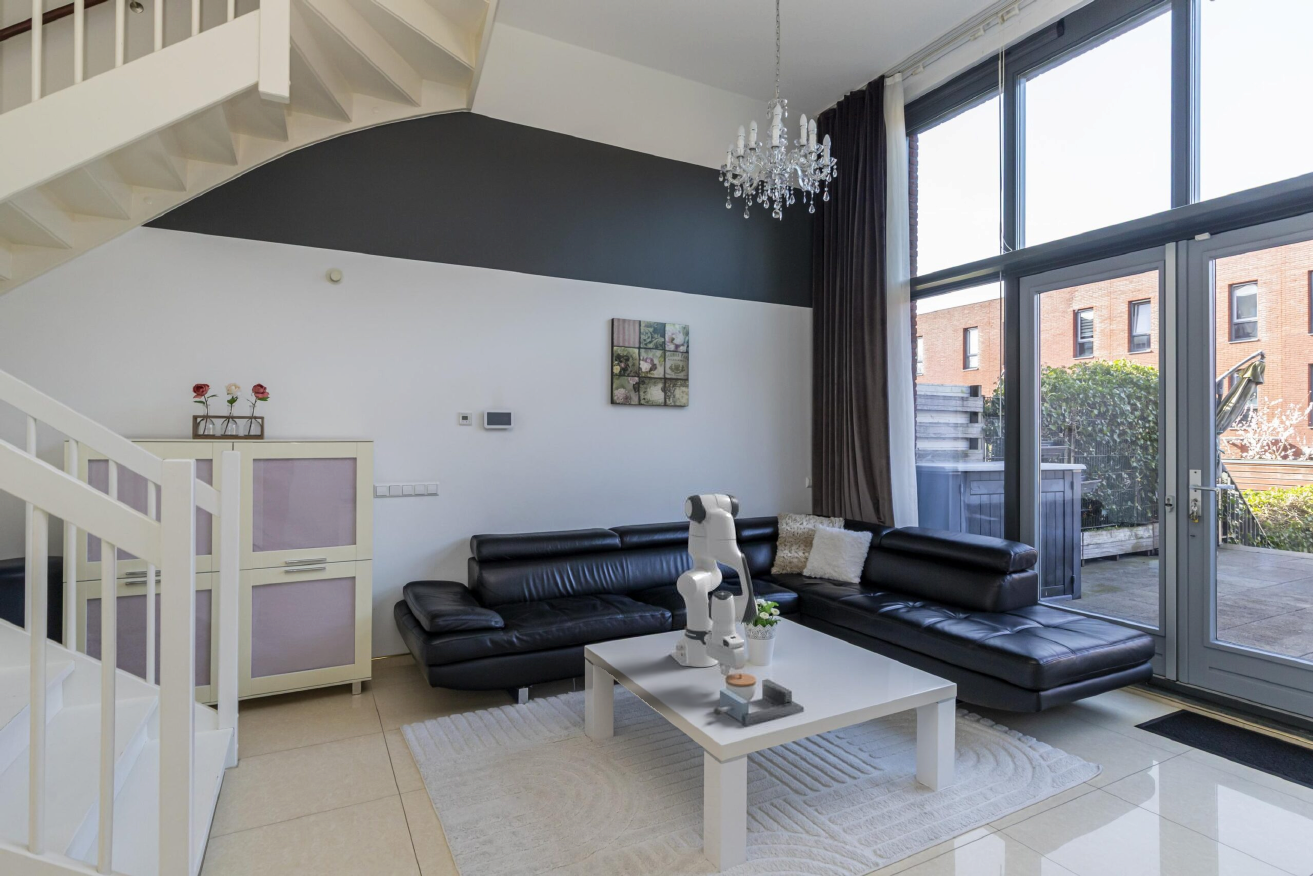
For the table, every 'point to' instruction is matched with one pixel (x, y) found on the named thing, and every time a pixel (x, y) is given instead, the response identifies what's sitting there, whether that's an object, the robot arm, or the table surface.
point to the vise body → (777, 698)
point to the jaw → (732, 705)
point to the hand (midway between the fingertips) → (724, 674)
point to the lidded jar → (741, 685)
